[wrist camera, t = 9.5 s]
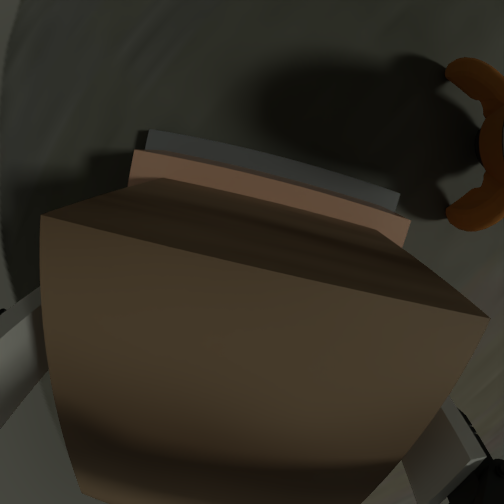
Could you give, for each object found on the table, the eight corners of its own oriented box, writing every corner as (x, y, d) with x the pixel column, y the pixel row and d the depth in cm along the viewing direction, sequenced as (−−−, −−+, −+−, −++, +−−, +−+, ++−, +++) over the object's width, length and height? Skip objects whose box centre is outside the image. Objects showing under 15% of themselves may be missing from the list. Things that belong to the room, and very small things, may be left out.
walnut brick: (163, 177, 12) (40, 214, 5) (375, 229, 13) (490, 318, 5) (139, 372, 15) (81, 492, 8) (305, 407, 16) (323, 537, 8)
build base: (155, 129, 17) (118, 122, 12) (393, 191, 17) (435, 205, 12) (125, 341, 21) (97, 384, 16) (320, 385, 21) (331, 436, 16)
